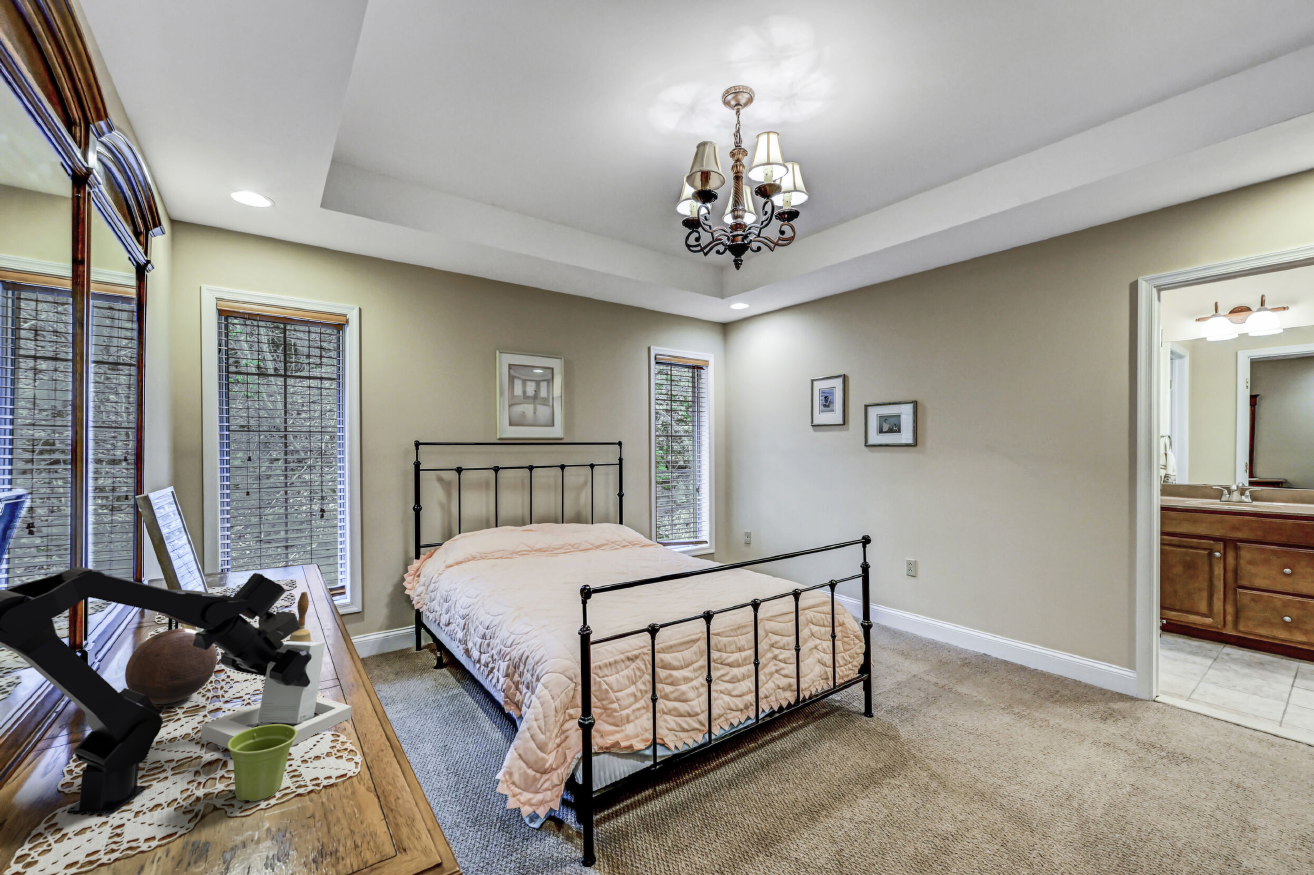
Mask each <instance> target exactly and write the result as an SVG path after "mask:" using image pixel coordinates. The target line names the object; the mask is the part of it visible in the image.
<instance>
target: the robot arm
mask: <svg viewBox="0 0 1314 875" xmlns="http://www.w3.org/2000/svg"><path fill="white" fill-rule="evenodd" d="M285 593H286V589H285V588H284V586H283V585H281V584H280V583H277V582H276V581H274V580H271V579H270V578H267V577H266V576H264V575H263V573H259V572H258V573H257V572H255V573H252V575H251V576H250V577H249V578H248V579H247V581H246V582H245V583H244V585H242V586H241V588H240V589H239V590H238V591H236V593H235V594H234V595H232V596H230V595H226V594H214V593H209V592H205V591H200V590H190V589H169V588H168V589H166V588H163V587H158V586H154V585H151V584H146V583H143V582H138V581H134V580H131V579H126V578H122V577H118V576H114V575H110V574H105V573H104V572H102V571H100V570H98V569H93V568H88V567H84V566H77V567H71V568H70V569H66V570H64V571H61V572H59V573H56V574H54V575H49V576H47V577H42V578H39V579H35V580H31V581H27V582H22V583H21V584H20V583H19V584H17V585H15V586H11V587H8V588H6V589H0V647H2V648H4V649H7V650H9V651H11V652H13V653H14V654H16V655H18V656H19V657H20V658H21V659H23V660H24V661H25V663H27V664H28V665H29V666H31V667H32V668H33V669H34V670H35V671H37V672H38V673H39V674H40V675H41V676H42V677H43V678H45V679H46V680H47V681H48V682H49V683H50V684H51V685H53V686H54V687H55V688H56V689H57V690H58V691H60V693H62V694H63V695H65V697H67V698H68V699H69V700H70V701H71V702H73V703H74V704H75V705H76V706H77V707H79V709H80V710H82V711H83V713H84V715H85V717H86V722H87V724H88V727H89V728H90V729H91V731H90V732H89V733H88V734H87V735H86V736H85V737H84V738H83V740H82V741H80V742H79V743H78V744H77V746H76V747H74V748H73V750H72V751H73V753H74V756H75V758H76V760H77V761H78V762H83V763H84V764H86V765H85V768H84V769H83V770H82V771H81V781H80V782H81V783H80V793H79V794H80V795H79V801H78V802H76V803H75V804H74V805H71V807H69V808H68V809H67V813H68V814H102V815H103V814H105V815H109V814H113V813H114V812H116V811H118V810H119V809H121V808H122V807H123V806H125V805H126V804H128V803H129V802H130V801H132V800H133V799H135V798H136V797H138V796H139V795H140V794H142V793H143V792H145V791H146V790H147V786H146V785H138V778H139V766H140V763H142V762H144V761H146V759H147V757H148V755H149V752H150V750H151V748H152V746H153V743H154V741H155V739H156V738H157V737H158V735H159V733H160V732H161V729H162V725H163V724H164V720H163V717H162V716H161V715H160V713H162V712H163V711H164V710H163V709H162V708H159V707H156V706H155V705H154V704H153V703H152V702H151V700H150V699H149V698H148V697H147V695H144V694H141V693H138V692H135V691H132V690H130V689H128V687H127V688H126V687H124V688H122V690H121V691H120V692H119V691H118V690H116V688H114V686H113V685H111V684H110V683H109V682H108V681H106V679H105V678H104V677H102V676H101V674H99V673H98V672H97V671H96V670H95V669H94V668H93V667H92V666H90V664H88V663H87V661H85V660H84V659H83V658H82V657H81V656H80V655H79V654H78V653H77V652H75V650H73V649H72V648H71V647H70V646H69V645H68V644H67V643H66V642H65V641H63V640H62V638H60V637H59V635H58V634H57V630H56V626H55V624H54V620H53V619H54V618H57V617H58V616H60V615H62V614H63V613H65V612H67V611H69V610H70V609H71V608H73V607H74V606H76V605H77V604H79V603H80V602H82V601H84V600H86V599H88V598H92V599H96V600H101V601H104V602H105V601H106V602H111V603H113V604H114V603H115V604H118V605H119V604H120V605H124V606H128V607H132V608H138V609H143V610H147V611H152V612H155V613H158V614H160V615H161V616H164V617H166V618H168V619H170V620H172V621H175V622H177V623H179V624H183V625H187V626H191V627H193V628H194V627H195V628H198V629H201V631H198V632H196V633H195V639H194V642H193V647H196V648H200V649H204V650H208V649H209V648H210V647H211V646H212V644H214V646H215V647H216V646H217V647H218V648H219V649H221V650H222V651H223V653H222V655H221V656H220V664H221V665H222V666H224V667H225V668H227V669H229V670H232V671H236V672H238V673H243V674H250V675H254V676H255V675H256V676H261V677H266V672H267V667H268V664H272V665H274V666H273V667H272V669H271V670H270V674H269V678H270V679H272V680H273V681H275V682H277V683H278V684H282V685H285V686H300V687H307V686H308V685H309V684H310V680H309V677H308V675H307V673H306V670H305V666H306V665H307V664H308V662H309V661H310V660H311V659H312V655H311V654H310V653H308V652H307V651H306V650H302V649H299V648H295V647H293V648H290V649H287V650H286V652H285V653H282V652H278V651H276V650H277V649H280V648H281V647H282V646H283V644H284V643H283V642H284V641H283V640H284V639H287V638H288V637H290V636H291V634H292V633H293V632H295V631H298V630H299V629H300V625H299V622H298V617H297V615H296V614H295V613H294V612H289V611H284V610H283V611H276V612H275V613H274V612H272V611H270V610H271V609H272V608H273V606H274V605H276V604H277V602H278V601H279V600H280V599H281V597H282V596H283V595H284V594H285ZM256 617H258V627H256V626H254V625H253V624H252V623H251V622H249V621H248V620H247V619H249V620H254V619H256ZM246 618H247V619H246Z"/></svg>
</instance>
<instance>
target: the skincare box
mask: <svg viewBox="0 0 1314 875" xmlns="http://www.w3.org/2000/svg"><path fill="white" fill-rule="evenodd" d="M282 642H283V643H284V644H283V646H282V647H281V648H280V649H277V650H276V651H278V652H282V653H285V652H286V650H287V649H290V648H293V647H295V648H299V649H302V650H306V651H307V652H308V653H310V654H311V655H312V659H311V660H310V661H309V662H308V664H307V665H306V666H305V670H306V673H307V675H308V677H309V680H310V684H309V685H308V686H307V687H300V686H285V685H282V684H278V683H277V682H275V681H273V680H272V679H270V678H269V674H270V670H271V669H272V667H273V666H274V665H272V664H268V667H267V672H266V676H265V678H264V679H265V680H264V685H263V688H262V695H261V700H260V701H261V702H260V703H261V706H260V711H259V717H258V721H257V723H271V724H272V723H274V724H276V723H277V724H301V723H303V722H305V721H308V720H310V719H312V718H315V717H314V716H315V714H314V712H315V706H316V700H317V696H318V692H319V685H320V679H321V674H322V673H321V672H322V666H323V660H324V659H323V658H324V652H325V646H326V641H312V642H293V641H289V640H287V641H282Z"/></svg>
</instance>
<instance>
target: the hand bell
mask: <svg viewBox="0 0 1314 875" xmlns="http://www.w3.org/2000/svg"><path fill="white" fill-rule="evenodd" d="M309 603H310V601H309V597H308V592H307V591H302V592H301V593H300V595H299V598H298V601H297V605H296V606H297V614H298V618H297V620H298V622H299V625H300V629H299V630H298V631H295V632H293V633H292V634H291V635H289V640H288V641H293V642H313V641H312V639H311V631H310V630H309V629H306V628H305V627H306V626H305V625H306V614H307V612H308V610H309Z"/></svg>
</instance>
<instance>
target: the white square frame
mask: <svg viewBox="0 0 1314 875" xmlns="http://www.w3.org/2000/svg"><path fill="white" fill-rule="evenodd" d="M260 706H261V702H259V703H256V704H253V705H251V706H249V707H245V708H244V709H243V708H242V709H240V710H238V711H235V712H233V713H230V714H227V715H223V716H222V717H220V718H219V717H218V718H216V719H214V720H211V721H209V722H208V721H207V722H206V723H203V724H202V725H201V734H200V739H203V740H205V741H207V742H210V743H213V744H214V745H218V746H220V747H223V748H226V749H228V742H229V741H230V739H231V738H233V737H234V736H235V735H237V734H239V733H241V732H243V731H245V730H248V729H251V728H252V727H250V726H248V725H250V724H252V723H255V722H258V717H259V711H260ZM352 708H353V706H352V705H349V704H346V703H342V702H339V701H335V700H333V699H332V700H331V699H329V698H326V697H321V696H318V695H317V700H316V706H315V712H314V713H318V714H321V715H317V716H315V717H313V718H312V719H310V720H306V721H302V722H300V723H298V724H295V725H294V726H293V727H294V728H295V729H296V730H297V736H296V738H295V739H294V740H293V743H292V746H291V747H293V746H295V745H297V744H299V743H301V742H304V741H306V740H308V739H310V738H312V737H311V736H313V735H315V734H317V733H319V732H321V731H323V730H325V729H327V730H329V729H328V728H329V727H330V726H333V725H335V724H337V723H340V722H342V723H344V722H346V721H345V720H347V719H349V720H351V719H352ZM350 718H351V719H350ZM343 721H344V722H343ZM347 721H348V720H347ZM340 724H341V723H340ZM325 731H326V730H325ZM323 732H324V731H323ZM321 733H322V732H321ZM319 734H320V733H319ZM317 735H318V734H317ZM315 736H316V735H315ZM313 737H314V736H313Z"/></svg>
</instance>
